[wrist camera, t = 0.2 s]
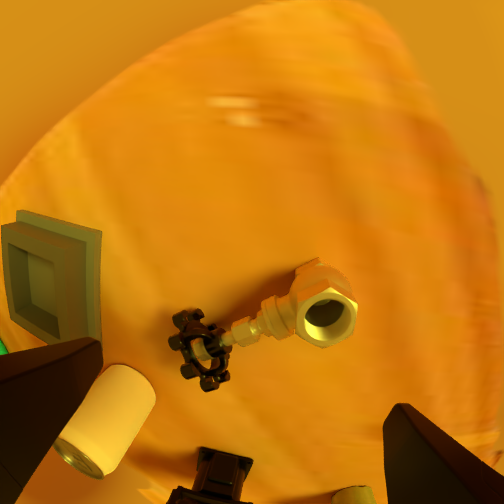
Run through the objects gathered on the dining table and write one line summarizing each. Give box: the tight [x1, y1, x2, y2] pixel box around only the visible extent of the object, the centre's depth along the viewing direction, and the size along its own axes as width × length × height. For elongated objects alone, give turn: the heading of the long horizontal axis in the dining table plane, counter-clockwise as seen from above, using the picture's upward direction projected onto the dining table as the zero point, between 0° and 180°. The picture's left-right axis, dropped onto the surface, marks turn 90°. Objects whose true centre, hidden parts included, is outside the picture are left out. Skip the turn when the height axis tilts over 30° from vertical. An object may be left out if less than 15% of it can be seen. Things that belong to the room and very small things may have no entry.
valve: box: [168, 257, 358, 392], centre depth 19 cm, size 7×7×12 cm
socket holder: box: [1, 210, 103, 351], centre depth 22 cm, size 13×13×4 cm
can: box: [52, 365, 156, 480], centre depth 20 cm, size 6×6×12 cm
